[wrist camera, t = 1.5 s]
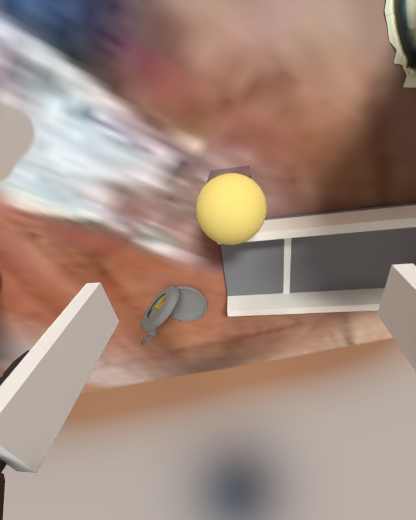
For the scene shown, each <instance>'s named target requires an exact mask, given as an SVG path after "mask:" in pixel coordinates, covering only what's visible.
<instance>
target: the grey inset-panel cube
mask: <svg viewBox="0 0 416 520" xmlns="http://www.w3.org/2000/svg"><path fill="white" fill-rule="evenodd" d="M227 173H237V174H242V175H244V176H247V177H249V178H250V179H251V173H250V169H249V166H245V167H237V168H230V169H223V170H215V171H211V172H210V175H209V178H208V181H207V183H208V182H209V181H210V180H212V179H213V178H215V177H217V176H219V175H222V174H227Z"/></svg>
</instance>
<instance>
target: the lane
mask: <svg viewBox="0 0 416 520" xmlns="http://www.w3.org/2000/svg"><path fill="white" fill-rule="evenodd" d="M218 244H220V245H221V252H222V260H223V267H224V274H225V281H226V288H227V295H228V301H227V313H228V316H252V315H276V314H300V313H324V312H349V311H373V310H378V309H379V306H380V302H381V299H382V296H383V292H384V289H385V286H386V282H387V279H388V276H389V272H390V269H391V266H392V265H395V264H412V263H413V264H414V265H415V266H416V203H408V204H398V205H389V206H379V207H369V208H359V209H349V210H340V211H330V212H320V213H310V214H300V215H291V216H281V217H271V218H265V220H264V223H263V225H262V227H261V228H260V230H259V231H258V232H257V233H256V235H254V236H253V237H252V238H251V239H249V240H247V241H245V242H243V243H240V244H235V245H226V244H221V243H218V242H217V245H218Z"/></svg>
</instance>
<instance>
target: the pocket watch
mask: <svg viewBox="0 0 416 520" xmlns="http://www.w3.org/2000/svg"><path fill="white" fill-rule="evenodd" d="M159 306H160V307H159ZM206 311H207V301H206V299H205V297H204V295H203V294H202V293H201V292H199V291H198V290H196V289H194V288H192V287H187V286H177V287H175V286H169V287H167V288H166V289H164V290H163V291H162V292H161V293H160V294H159V295H157V297H156V298H155V299H154V300H153V302H152V303H151V304H150V305H149V307H148V309H147V310H146V312H145V314H144V316H143V318H142V321H141V327H142V328H143V329H144V330H145V331H147V332H149V333H148V336H147V337H146V338H145V339H144V340H143V341H142V342H141V345H143V344H145V343H147V342H148V341H149V340H150V339H153V337H154V336H155V335H156V333H157V332H156V331H155V330H156V328H158V327H159V326H160V325H161V324H162V323H163V322H164V321H165V320H166V319H167V318H168V317H169V315H170V316H171V317H172V318H174V319H176V320H179V321H184V322H190V321H196V320H198V319H200V318H202V317H203V316H204V314H205V313H206ZM147 339H148V340H147ZM145 340H146V341H145ZM144 341H145V342H144Z"/></svg>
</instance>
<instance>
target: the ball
mask: <svg viewBox="0 0 416 520" xmlns="http://www.w3.org/2000/svg"><path fill="white" fill-rule="evenodd" d="M266 209H267V207H266V200H265V196H264V194H263V192H262V190H261V188H260V187H259V186H258V184H257V183H256V182H254V181H253V180H252V179H250V178H249V177H247V176H244V175H242V174H237V173H227V174H222V175H219V176H217V177H215V178H213V179H212V180H210V181H209V182H208V183H207V184H206V185H205V186H204V187H203V189H202V190H201V192H200V194H199V196H198V199H197V204H196V216H197V220H198V223H199V225H200V227H201V229H202V230H203V232H204V233H205V234H206V235H207V236H208V237H209V238H211V239H212V240H214V241H216V242H218V243H221V244H226V245H235V244H240V243H243V242H245V241H247V240H249V239H251V238H252V237H253V236H254V235H256V233H257V232H258V231H259V230H260V228H261V227H262V225H263V223H264V220H265V217H266Z"/></svg>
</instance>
